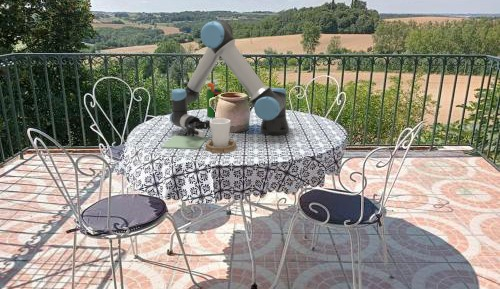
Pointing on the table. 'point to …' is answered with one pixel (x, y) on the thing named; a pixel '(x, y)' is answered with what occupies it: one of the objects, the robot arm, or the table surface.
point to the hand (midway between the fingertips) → (215, 131)
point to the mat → (185, 142)
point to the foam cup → (220, 132)
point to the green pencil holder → (210, 94)
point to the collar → (220, 149)
